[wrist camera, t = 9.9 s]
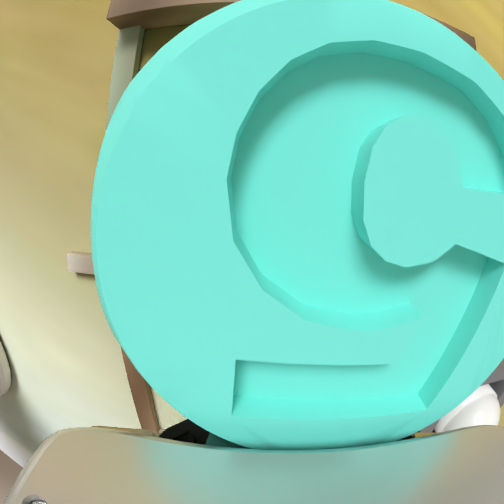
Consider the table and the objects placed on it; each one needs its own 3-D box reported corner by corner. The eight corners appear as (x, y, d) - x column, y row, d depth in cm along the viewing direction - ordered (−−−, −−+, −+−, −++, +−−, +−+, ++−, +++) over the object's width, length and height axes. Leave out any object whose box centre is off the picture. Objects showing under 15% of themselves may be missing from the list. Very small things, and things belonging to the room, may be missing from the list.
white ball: (415, 422, 14) (438, 473, 10) (441, 372, 13) (477, 425, 8) (462, 411, 14) (487, 454, 10) (488, 363, 12) (524, 405, 8)
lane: (115, 426, 16) (106, 444, 14) (85, 23, 9) (66, 11, 7) (401, 439, 15) (408, 457, 14) (487, 64, 8) (508, 58, 7)
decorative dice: (196, 287, 12) (124, 439, 5) (208, 91, 10) (115, -19, 2) (377, 302, 12) (466, 435, 5) (406, 120, 10) (562, 97, 2)
